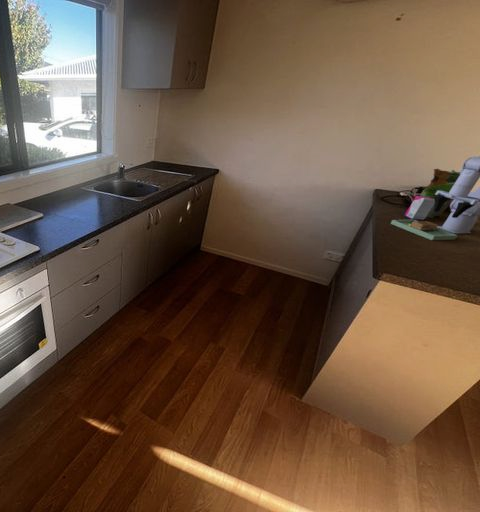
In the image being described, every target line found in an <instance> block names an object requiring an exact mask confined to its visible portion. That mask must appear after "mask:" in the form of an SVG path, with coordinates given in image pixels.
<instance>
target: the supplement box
mask: <svg viewBox="0 0 480 512" xmlns="http://www.w3.org/2000/svg"><path fill="white" fill-rule="evenodd" d="M434 203H435V200H434V199H433V198H430V197H424V196H420V195H415V197H414V198H413V200H412V202H411V204H410V206H409V207H408V209H407V210H406V212H405V214H404V217H406V218H407V219H409V220H412V219H414V220H417V221H425V219H426V216H427V214H428V213H429V211H430V210H431V208H432V206H433V205H434Z"/></svg>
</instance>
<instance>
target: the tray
mask: <svg viewBox="0 0 480 512" xmlns="http://www.w3.org/2000/svg"><path fill="white" fill-rule="evenodd" d="M419 221H420V220H414V219H392V220H391V222H390V225H393V226H395V227H398V228H399V229H403V230H405V231H407V232H409V233H412V234H415V235H417V236H419V237H423V238H425V239H427V240H430V241H453V240H456V239H457V238H458V236H459V235H458V234H454V233H451V232H448V231H446V230H443V229H440V228H437V227H436V228H435V230H434V232H424V231H421V230H418V229H416V228H413V227H411V226H408V224H412V223H413V222H419Z"/></svg>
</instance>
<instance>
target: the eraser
mask: <svg viewBox="0 0 480 512" xmlns="http://www.w3.org/2000/svg"><path fill="white" fill-rule="evenodd" d="M418 221H419V222H413V223H412V224H411V227H413V228H416V229H418V230H421V231H424V232H434V230H435V228H437V226H438V224H436V223H434V222H430V221H427V220H426V221H425V220H418Z"/></svg>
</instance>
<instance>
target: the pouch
mask: <svg viewBox="0 0 480 512" xmlns="http://www.w3.org/2000/svg"><path fill="white" fill-rule="evenodd" d="M459 176H460V171H456V170H454V169H452V170H451V171H448V170H442V169H439V168H435V169H433V178H432V179H431V180H430V183H429V184H428V185H427V186H425V187H424V189H423V190H421V191H422V192H420V195H419V196H424V197H430V198H433V199H434V197H435V196H438V195H435V194H436V192H437V191H439V190H441V191H445V192H450V190H451V188H452V187H453V185H454V184H455V182H456V181H457V179H458V177H459ZM452 201H453V199H451V198H449V199H448V200H447V201H446V202H445V203H444V204H443V206H442V207H441V209H440V210H439V211H438V212H434V211H433V210H434V205H435V203H434V205H433V206H432V208H431V210H430V211H429V213H428V214H427V216H426V217H425V219H426V218H427V219H433V218H434V217H440V216H441V215H442V213H444V212H445V211H446V209H448V207H449V205H450V204H451V202H452Z"/></svg>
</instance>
